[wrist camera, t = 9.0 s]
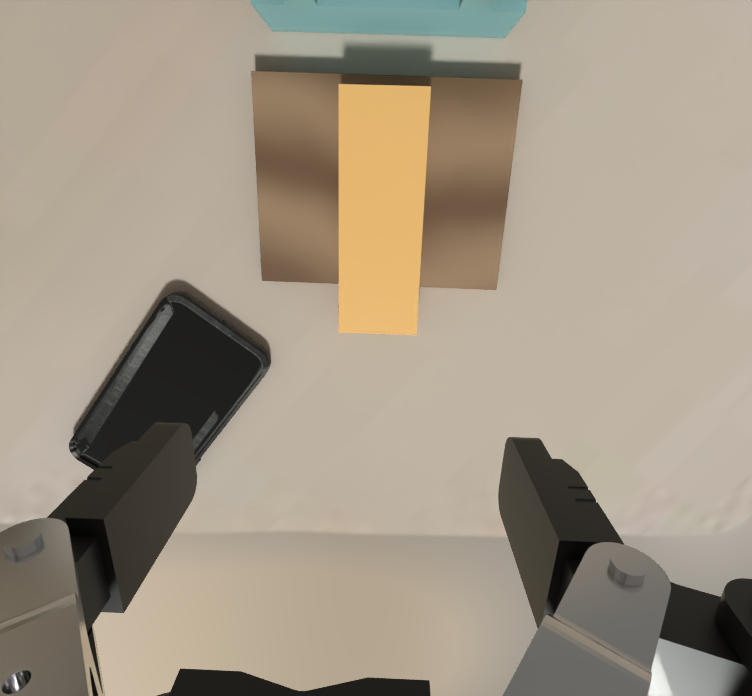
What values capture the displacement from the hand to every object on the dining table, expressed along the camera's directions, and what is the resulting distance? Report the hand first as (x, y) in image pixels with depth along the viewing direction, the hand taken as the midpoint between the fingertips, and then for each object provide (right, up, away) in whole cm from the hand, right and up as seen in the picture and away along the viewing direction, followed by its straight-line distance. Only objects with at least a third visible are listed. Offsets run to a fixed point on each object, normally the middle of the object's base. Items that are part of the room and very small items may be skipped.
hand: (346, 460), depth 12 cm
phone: (-13, -1, +21) cm, 25 cm away
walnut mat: (+1, +12, +15) cm, 19 cm away
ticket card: (+1, +10, +15) cm, 18 cm away
